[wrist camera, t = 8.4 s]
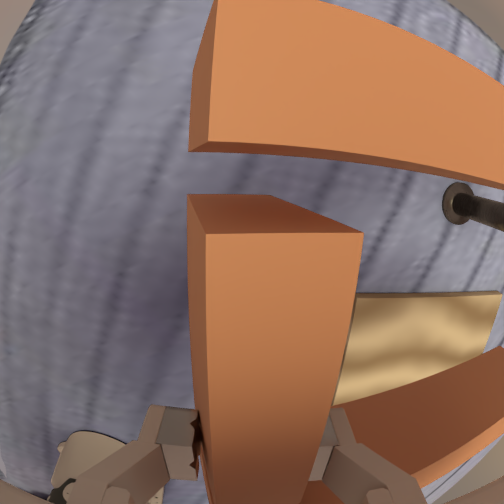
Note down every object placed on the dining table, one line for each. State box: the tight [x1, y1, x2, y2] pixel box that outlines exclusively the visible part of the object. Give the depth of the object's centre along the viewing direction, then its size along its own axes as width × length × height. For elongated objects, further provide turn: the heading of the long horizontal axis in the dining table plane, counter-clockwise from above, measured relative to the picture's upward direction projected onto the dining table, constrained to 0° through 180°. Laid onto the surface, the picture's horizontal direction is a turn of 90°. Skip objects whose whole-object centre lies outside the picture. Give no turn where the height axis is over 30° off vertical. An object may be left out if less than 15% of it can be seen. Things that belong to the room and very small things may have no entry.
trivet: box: [331, 291, 503, 406], centre depth 32 cm, size 16×21×1 cm
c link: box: [187, 0, 504, 504], centre depth 10 cm, size 20×15×5 cm
